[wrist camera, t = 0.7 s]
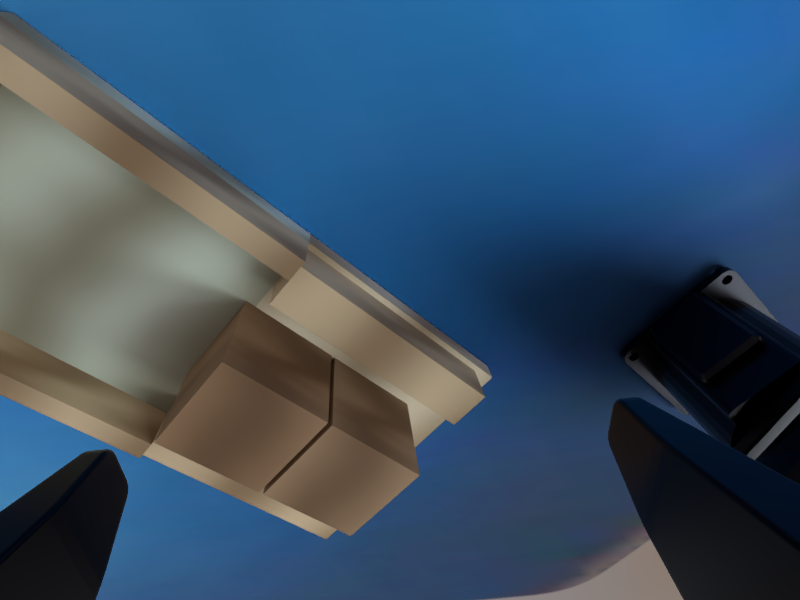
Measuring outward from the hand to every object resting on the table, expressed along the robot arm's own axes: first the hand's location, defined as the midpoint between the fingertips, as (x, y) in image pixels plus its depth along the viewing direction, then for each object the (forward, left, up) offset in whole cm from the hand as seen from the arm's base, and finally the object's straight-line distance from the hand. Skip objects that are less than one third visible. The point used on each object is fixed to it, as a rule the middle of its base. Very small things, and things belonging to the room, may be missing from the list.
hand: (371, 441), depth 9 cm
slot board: (+2, +8, -13) cm, 15 cm away
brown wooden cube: (-1, +8, -12) cm, 14 cm away
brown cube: (-5, +8, -12) cm, 15 cm away
